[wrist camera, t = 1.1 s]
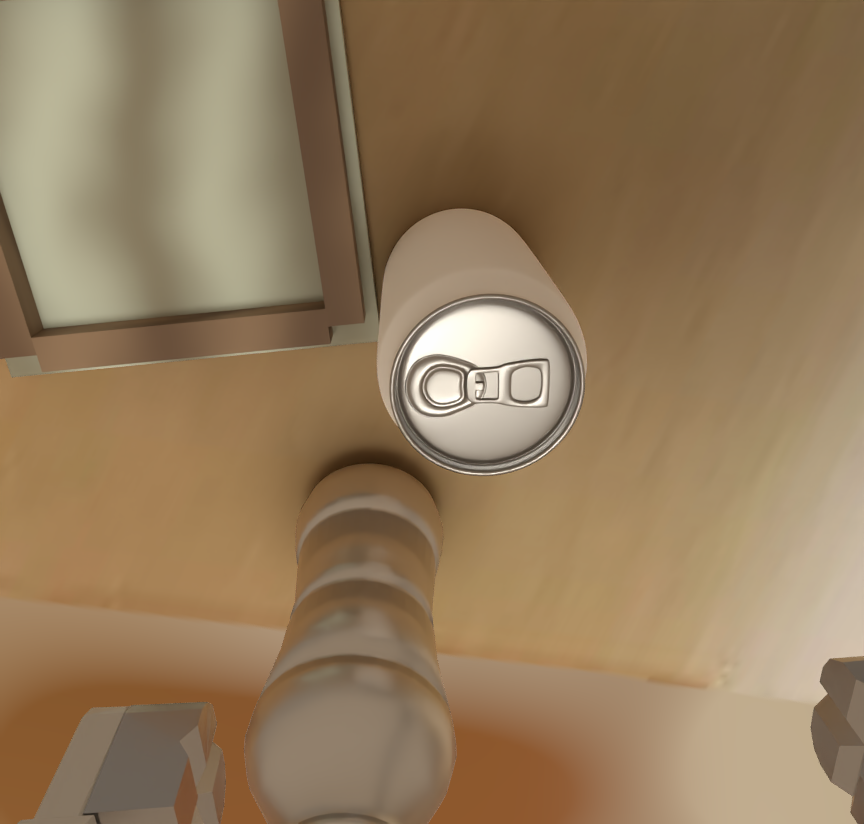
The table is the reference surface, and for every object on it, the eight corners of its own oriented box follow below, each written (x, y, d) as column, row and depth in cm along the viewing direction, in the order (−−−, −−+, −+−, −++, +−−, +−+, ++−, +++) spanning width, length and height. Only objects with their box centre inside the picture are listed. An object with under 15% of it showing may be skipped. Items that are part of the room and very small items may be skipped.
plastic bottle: (421, 572, 39) (438, 1019, 21) (290, 545, 38) (185, 989, 20) (456, 463, 36) (511, 864, 18) (316, 432, 35) (225, 821, 17)
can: (379, 208, 31) (366, 283, 20) (536, 203, 31) (608, 274, 20) (387, 356, 34) (380, 493, 23) (532, 351, 34) (593, 484, 23)
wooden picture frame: (328, -96, 27) (322, -108, 25) (381, 335, 33) (380, 350, 32) (-123, -50, 27) (-161, -58, 25) (20, 370, 34) (-2, 388, 32)
